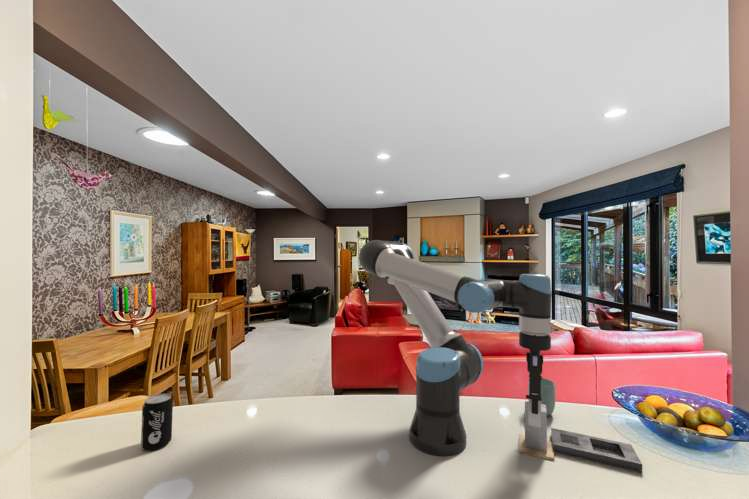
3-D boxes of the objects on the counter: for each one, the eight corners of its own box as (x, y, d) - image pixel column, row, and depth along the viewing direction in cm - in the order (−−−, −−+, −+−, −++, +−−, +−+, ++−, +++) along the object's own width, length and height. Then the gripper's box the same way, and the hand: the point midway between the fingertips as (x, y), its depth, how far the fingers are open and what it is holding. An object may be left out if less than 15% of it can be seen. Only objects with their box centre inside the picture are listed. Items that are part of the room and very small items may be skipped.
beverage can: (177, 441, 84) (178, 395, 85) (150, 455, 79) (152, 405, 79) (161, 435, 87) (163, 391, 88) (135, 448, 81) (136, 400, 82)
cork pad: (518, 451, 82) (518, 449, 82) (519, 436, 89) (519, 434, 89) (554, 460, 78) (554, 458, 78) (552, 444, 85) (552, 441, 85)
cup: (559, 419, 99) (558, 387, 99) (532, 417, 100) (531, 384, 101) (550, 408, 106) (550, 378, 107) (525, 406, 108) (525, 376, 108)
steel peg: (525, 447, 82) (524, 408, 83) (525, 438, 87) (524, 400, 87) (547, 453, 80) (546, 412, 81) (545, 443, 85) (545, 404, 85)
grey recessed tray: (553, 452, 82) (553, 443, 82) (551, 435, 90) (551, 427, 90) (642, 473, 74) (642, 463, 74) (631, 452, 82) (631, 444, 82)
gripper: (554, 345, 72) (553, 441, 71) (548, 325, 94) (548, 398, 94) (517, 341, 75) (516, 432, 74) (520, 322, 97) (520, 393, 97)
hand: (534, 413), depth 84 cm, fingers open, 13 cm apart
